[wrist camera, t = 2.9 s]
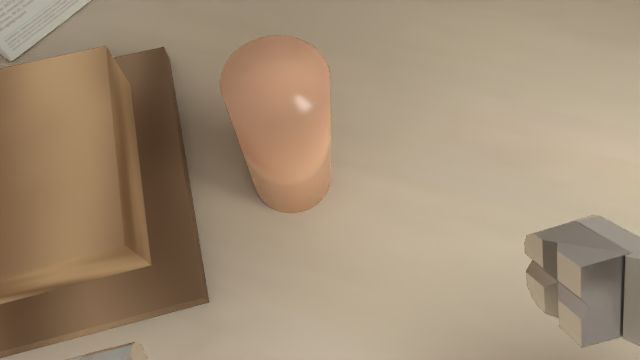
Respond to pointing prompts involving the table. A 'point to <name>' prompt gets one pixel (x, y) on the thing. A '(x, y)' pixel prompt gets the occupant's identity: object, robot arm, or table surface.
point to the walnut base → (165, 233)
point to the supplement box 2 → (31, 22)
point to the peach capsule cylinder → (281, 119)
